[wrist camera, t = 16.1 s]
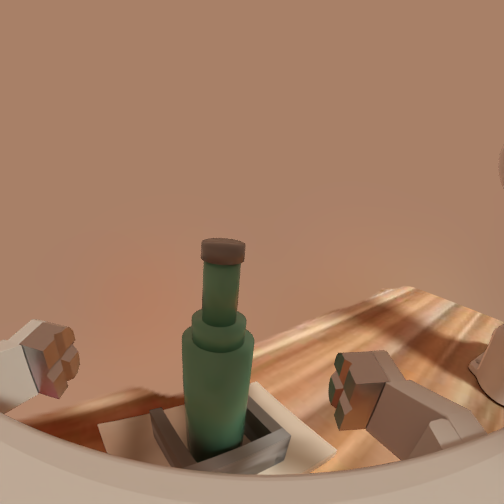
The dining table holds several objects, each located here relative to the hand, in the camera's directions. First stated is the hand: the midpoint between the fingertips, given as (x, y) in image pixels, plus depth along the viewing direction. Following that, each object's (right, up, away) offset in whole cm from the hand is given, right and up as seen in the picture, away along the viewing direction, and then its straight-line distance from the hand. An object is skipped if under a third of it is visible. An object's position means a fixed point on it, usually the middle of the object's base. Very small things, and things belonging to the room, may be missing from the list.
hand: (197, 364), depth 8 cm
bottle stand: (-2, -17, +17) cm, 24 cm away
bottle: (-2, -15, +16) cm, 23 cm away
